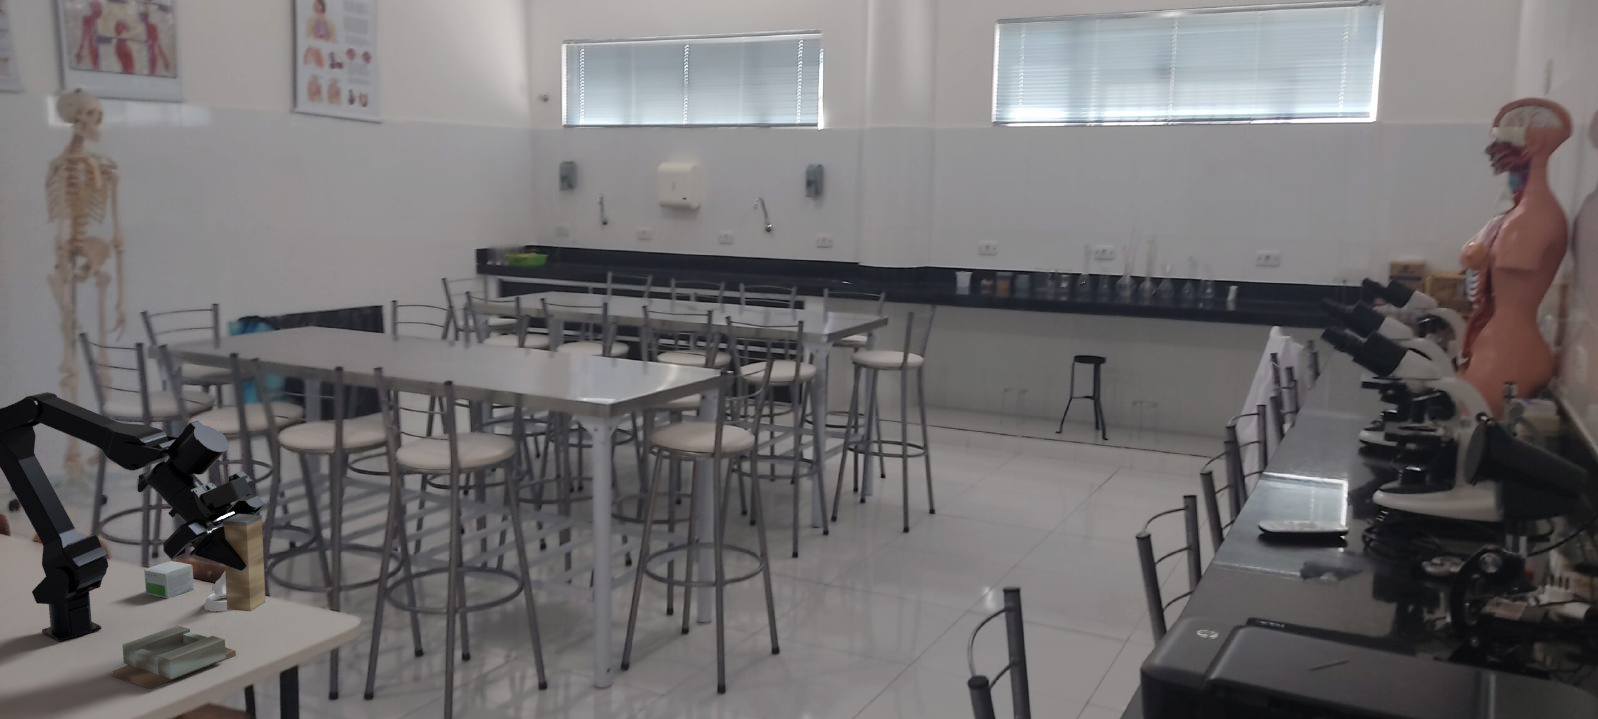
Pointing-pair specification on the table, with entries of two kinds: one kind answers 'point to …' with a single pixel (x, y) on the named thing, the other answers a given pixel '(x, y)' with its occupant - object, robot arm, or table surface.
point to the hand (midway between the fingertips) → (252, 564)
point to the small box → (169, 579)
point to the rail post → (248, 543)
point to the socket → (169, 656)
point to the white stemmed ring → (217, 596)
